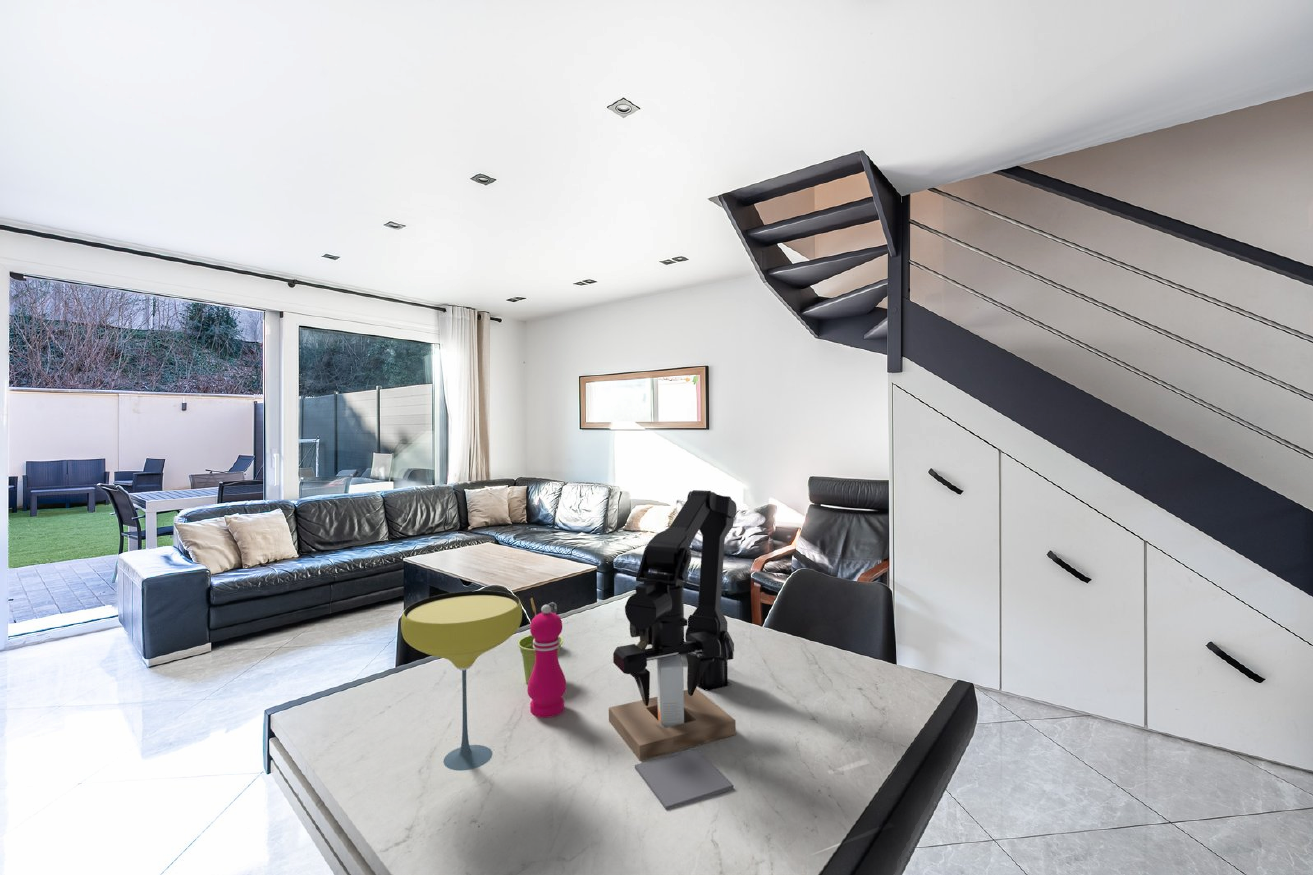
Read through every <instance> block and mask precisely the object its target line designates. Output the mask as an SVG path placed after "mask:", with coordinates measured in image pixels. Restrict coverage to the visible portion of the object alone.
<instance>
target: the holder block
mask: <svg viewBox="0 0 1313 875" xmlns="http://www.w3.org/2000/svg"><path fill="white" fill-rule="evenodd" d="M608 723H610V725H611V726H612V728H613V729H614V730H615V731H616V732H617V734H618V735H619V736H620V737H621V739H622V740H623V741H624V743H625V744H626V745H627V747H628V748H629V749H630V750H631V751H632V753H633V755H635V757H636V758H637V759H638V761H639V762H640V761H644V760H647V759H653V758H656V757H660V756H664V755H669V754H673V753H675V752H678V751H682V750H687V749H689V748H690V749H691V748H692V747H697V746H700V745H703V744H707V743H711V742H715V741H718V740H721V739H725V738H729V737H732V736H735V735H736V733H737V732H736V727H737V726H736V719H735V718H733V717H732V716H731V715H730V714H728V713H727V712H726V711H725V710H724V709H722V707H720V706H719V705H718V704H716V703H715V702H714V701H713V700H711V699H710V698H709V697H708V696H707V695H705V694H704V693H703V692H701V691H700V690H699V689H698V688H697V687H696V689H695V691H694V693H693V695H692V696H690V695H689V694H688V689H685V690H684V723H683V724H680V725H676V726H672V727H668V728H665V727H664V726H663V725H662V724H661V723H660V722H659V721H658V696H655V697H649V704H648V706H645V705H644V703H643V700H642V699H640V700H637V701H630V702H628V703H624V704H623V703H622V704H619V705H615V706H610V707H608Z"/></svg>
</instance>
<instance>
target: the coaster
mask: <svg viewBox="0 0 1313 875" xmlns="http://www.w3.org/2000/svg"><path fill="white" fill-rule="evenodd" d="M634 770H636V772H637V773H638V774H639V776H640V777H641V778H642V780H643V781H644V783H645V784H646V785H647V787H648V788H649V789H650V791H651V792H652V793H653V795H654V796H655V797H656V799H657V800H658V801H659V803H660V804H661V806H662V807H663V808H664V810H665V811H667V810H670V809H673V807H674V808H677V807H680V806H683V805H686V804H687V805H688V804H690V803H694V802H697V801H699V800H700V801H701V800H703V799H706V798H710V797H714V796H717V795H719V794H723V793H725V792H730V791H732V790H735V789H734V784H733V783H732V781H730V780H729V778H728V777H727V776H725V775H724V773H722V772H721V771H720V769H719V768H717V766H715V765H714V763H713V762H712V761H711V760H709V758H708V757H707V756H705V754H703V753H702V751H701V750H700V749H699V748H698V747H694V748H690V749H685V750H683V751H680V752H676V753H671V754H667V755H665V756H662V757H659V758H655V759H651V760H648V761H644V762H640V763H636V764H634ZM676 806H677V807H676Z"/></svg>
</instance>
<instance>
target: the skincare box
mask: <svg viewBox="0 0 1313 875" xmlns="http://www.w3.org/2000/svg"><path fill="white" fill-rule="evenodd" d="M680 655H681V654H680ZM680 655H675V656H670V657H665V658H660V659H656V669H657V671H656V673H657V674H656V675H657V676H656V677H657V678H656V679H657V686H656V687H657V691H656V692H657V693H656V694H657V695H656V696H657V697H658V719H657V720H658V721H659V722H660V723H661V724H662V725H663V726H664V727H665V728H668V727H672V726H676V725H680V724H683V723H684V685H685V684H684V665H683V662H682V659H681V656H680Z"/></svg>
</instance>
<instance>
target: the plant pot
mask: <svg viewBox="0 0 1313 875" xmlns="http://www.w3.org/2000/svg"><path fill="white" fill-rule="evenodd" d="M558 637H559V638H560V641H559V643H560V646H559V647H558V651H557V654H558V658H559V655H560V651H561V648H562V645H563V643H564V638H563V637H562V636H561V635H559V636H558ZM534 639H535V638H534V637H533V636H532V635H531V634H530V635H527V636H524V637H522V638H520V639H519V640H517V641H518V642H517V647H518V648H519V649H520V653H521V657H522V663H523V670H524V677H525V684H527V685H528V682H529V678H530V676H531V674H532V671H533V669H534V666H535V660H536V652H535V649H534V648H533V645H534V643H533V640H534Z"/></svg>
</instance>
